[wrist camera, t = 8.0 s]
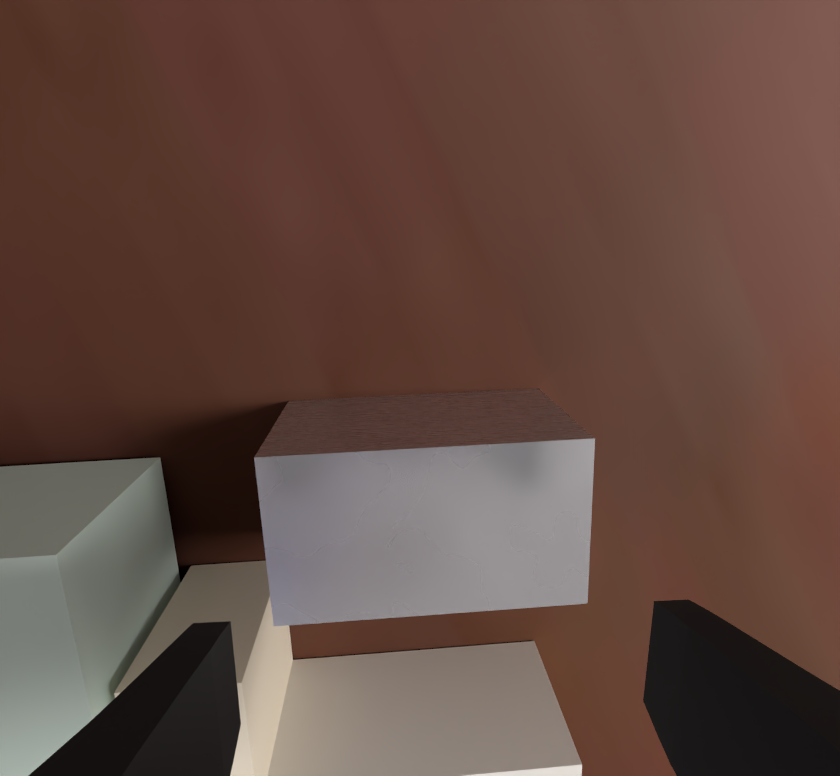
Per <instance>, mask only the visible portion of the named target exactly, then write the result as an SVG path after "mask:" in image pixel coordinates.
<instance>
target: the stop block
mask: <svg viewBox="0 0 840 776" xmlns="http://www.w3.org/2000/svg"><path fill="white" fill-rule="evenodd" d="M594 448H595V438H594V437H593V436H592V435H591V434H589V433H588V432H587V431H586V430H585V429H584V428H583V427H582V426H580V425H579V424H578V423H577V422H576V421H575V420H574V419H573V418H571V417H570V416H569V415H568V414H567V413H566V412H565V411H564V410H563V409H561V408H560V407H559V406H558V405H557V404H556V403H555V402H554V401H552V400H551V399H550V398H549V397H548V396H547V395H546V394H545V393H543V392H542V391H541V390H540V389H539V388H537V389H517V390H497V391H477V392H457V393H438V394H418V395H398V396H378V397H358V398H338V399H318V400H299V401H288V403H287V404H286V406H285V408H284V409H283V411H282V413H281V414H280V416H279V418H278V419H277V421H276V422H275V424H274V426H273V427H272V429H271V431H270V432H269V434H268V436H267V437H266V439H265V440H264V442H263V444H262V445H261V447H260V449H259V450H258V452H257V454H256V455H255V457H254V461H255V470H256V479H257V487H258V496H259V505H260V513H261V522H262V530H263V539H264V548H265V556H266V565H267V574H268V582H269V591H270V600H271V608H272V617H273V626H286V625H300V624H313V623H327V622H341V621H354V620H368V619H382V618H395V617H409V616H423V615H436V614H450V613H464V612H477V611H491V610H505V609H518V608H532V607H546V606H559V605H573V604H587V601H588V579H589V557H590V535H591V514H592V492H593V470H594Z"/></svg>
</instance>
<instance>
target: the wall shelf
mask: <svg viewBox="0 0 840 776" xmlns="http://www.w3.org/2000/svg"><path fill="white" fill-rule="evenodd" d="M226 621H231V630H232V640H233V650H234V660H235V670H236V680H237V690H238V699H239V709H240V719H241V726H240V731H239V736H238V741H237V746H236V751H235V756H234V761H233V765H232V770H231V774H230V776H582V763H581V761H580V758H579V756H578V753H577V750H576V748H575V745H574V743H573V740H572V737H571V735H570V732H569V730H568V727H567V725H566V722H565V719H564V717H563V714H562V712H561V709H560V706H559V704H558V701H557V699H556V696H555V693H554V691H553V688H552V686H551V683H550V681H549V678H548V675H547V673H546V670H545V668H544V665H543V662H542V660H541V657H540V655H539V652H538V650H537V647H536V644H535V642H534V641H528V642H515V643H502V644H489V645H477V646H464V647H451V648H438V649H426V650H413V651H400V652H387V653H375V654H362V655H349V656H336V657H324V658H311V659H298V660H293V657H292V648H291V639H290V630H289V625H286V626H273V617H272V608H271V600H270V591H269V582H268V574H267V565H266V561H251V562H237V563H222V564H208V565H193V566H191V567H190V568H189V570H188V572H187V573H186V575H185V577H184V578H183V580H182V582H181V583H180V585H179V587H178V588H177V590H176V591H175V593H174V595H173V596H172V598H171V600H170V601H169V603H168V605H167V606H166V608H165V610H164V611H163V613H162V615H161V616H160V618H159V620H158V621H157V623H156V625H155V626H154V628H153V629H152V631H151V633H150V634H149V636H148V638H147V639H146V641H145V643H144V644H143V646H142V648H141V649H140V651H139V653H138V654H137V656H136V658H135V659H134V661H133V663H132V664H131V666H130V667H129V669H128V671H127V672H126V674H125V676H124V677H123V679H122V681H121V682H120V684H119V686H118V687H117V689H116V691H115V692H114V695H115V698H116V697H117V696H118V695H119V694H120V693H121V692H122V691H123V690H124V689H125V688H126V687H127V686H128V685H129V684H130V683H131V682H132V681H134V680H135V679H136V678H137V677H138V676H139V675H140V674H141V673H142V672H143V671H144V670H145V669H146V668H147V667H148V666H149V665H150V664H151V663H152V662H153V661H154V660H155V659H156V658H157V657H158V656H159V655H160V654H161V653H162V652H163V651H164V650H165V649H166V648H167V647H169V646H170V645H171V644H172V643H173V642H174V641H175V640H176V639H177V638H178V637H179V636H180V635H181V634H182V633H183V632H184V631H185V630H186V629H187V628H188V627H189V626H190V625H192V624H193V623H204V622H226Z"/></svg>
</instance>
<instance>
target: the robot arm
mask: <svg viewBox="0 0 840 776" xmlns="http://www.w3.org/2000/svg"><path fill="white" fill-rule="evenodd" d="M643 701H644V703H645V706H646V708H647V710H648V713H649V715H650V718H651V720H652V723H653V725H654V727H655V730H656V732H657V735H658V737H659V739H660V741H661V744H662V746H663V748H664V750H665V753H666V755H667V757H668V759H669V762H670V764H671V766H672V767H673V769H674V771H675V773H676V775H677V776H840V691H839V690H838V689H836V688H834V687H832V686H831V685H829V684H827V683H826V682H824V681H822V680H821V679H819V678H817V677H816V676H814V675H812V674H811V673H809V672H807V671H806V670H804V669H803V668H801V667H799V666H798V665H796V664H794V663H793V662H791V661H789V660H788V659H786V658H785V657H783V656H781V655H780V654H778V653H777V652H775V651H773V650H772V649H770V648H768V647H767V646H765V645H764V644H762V643H760V642H759V641H757V640H756V639H754V638H752V637H751V636H749V635H748V634H746V633H744V632H743V631H741V630H739V629H738V628H736V627H735V626H733V625H731V624H730V623H728V622H726V621H725V620H723V619H722V618H720V617H718V616H717V615H715V614H713V613H711V612H710V611H708V610H706V609H705V608H703V607H701V606H699V605H697V604H696V603H694V602H692V601H690V600H672V601H654V608H653V617H652V627H651V636H650V645H649V654H648V663H647V672H646V681H645V690H644V699H643ZM240 726H241V719H240V709H239V699H238V690H237V680H236V670H235V660H234V650H233V640H232V630H231V621H226V622H204V623H193V624H192V625H190V626H189V627H188V628H187V629H186V630H185V631H184V632H183V633H182V634H181V635H180V636H179V637H178V638H177V639H176V640H175V641H174V642H173V643H172V644H171V645H170V646H169V647H167V648H166V649H165V650H164V651H163V652H162V653H161V654H160V655H159V656H158V657H157V658H156V659H155V660H154V661H153V662H152V663H151V664H150V665H149V666H148V667H147V668H146V669H145V670H144V671H143V672H142V673H141V674H140V675H139V676H138V677H137V678H136V679H135V680H134V681H132V682H131V683H130V684H129V685H128V686H127V687H126V688H125V689H124V690H123V691H122V692H121V693H120V694H119V695H118V696H117V697H116V698H115V699H114V700H112V701H111V702H110V703H109V704H108V705H107V706H106V707H105V708H104V709H103V710H102V711H101V712H100V713H99V714H98V715H97V716H95V717H94V718H93V719H92V720H91V721H90V722H89V723H88V724H87V725H86V726H85V727H83V728H82V729H81V730H80V731H79V732H78V733H77V734H75V735H74V736H73V737H72V738H71V739H70V740H69V741H67V742H66V743H65V744H64V745H63V746H62V747H61V748H59V749H58V750H57V751H56V752H55V753H54V754H53V755H51V756H50V757H49V758H48V759H47V760H46V761H45V762H43V763H42V764H41V765H40V766H39V767H38V768H37V769H35V770H34V771H33V772H32V773H31V774H30V775H29V776H230V774H231V770H232V765H233V761H234V756H235V751H236V746H237V741H238V736H239V731H240Z"/></svg>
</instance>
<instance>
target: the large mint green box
mask: <svg viewBox="0 0 840 776" xmlns="http://www.w3.org/2000/svg"><path fill="white" fill-rule="evenodd" d="M180 583H181V582H180V576H179V569H178V563H177V557H176V551H175V545H174V539H173V533H172V526H171V520H170V514H169V508H168V502H167V496H166V490H165V483H164V477H163V471H162V465H161V459H160V457H158V458H140V459H123V460H106V461H89V462H72V463H54V464H37V465H20V466H3V467H0V776H29V775H30V774H31V773H32V772H33V771H34V770H35V769H37V768H38V767H39V766H40V765H41V764H42V763H43V762H45V761H46V760H47V759H48V758H49V757H50V756H51V755H53V754H54V753H55V752H56V751H57V750H58V749H59V748H61V747H62V746H63V745H64V744H65V743H66V742H67V741H69V740H70V739H71V738H72V737H73V736H74V735H75V734H77V733H78V732H79V731H80V730H81V729H82V728H83V727H85V726H86V725H87V724H88V723H89V722H90V721H91V720H92V719H93V718H94V717H95V716H97V715H98V714H99V713H100V712H101V711H102V710H103V709H104V708H105V707H106V706H107V705H108V704H109V703H110V702H111V701H112V700H114V699H115V695H114V692H115V691H116V689H117V687H118V686H119V684H120V682H121V681H122V679H123V677H124V676H125V674H126V672H127V671H128V669H129V667H130V666H131V664H132V663H133V661H134V659H135V658H136V656H137V654H138V653H139V651H140V649H141V648H142V646H143V644H144V643H145V641H146V639H147V638H148V636H149V634H150V633H151V631H152V629H153V628H154V626H155V625H156V623H157V621H158V620H159V618H160V616H161V615H162V613H163V611H164V610H165V608H166V606H167V605H168V603H169V601H170V600H171V598H172V596H173V595H174V593H175V591H176V590H177V588H178V587H179V585H180Z"/></svg>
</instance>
